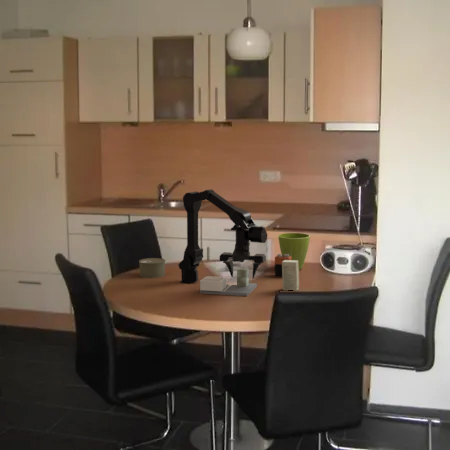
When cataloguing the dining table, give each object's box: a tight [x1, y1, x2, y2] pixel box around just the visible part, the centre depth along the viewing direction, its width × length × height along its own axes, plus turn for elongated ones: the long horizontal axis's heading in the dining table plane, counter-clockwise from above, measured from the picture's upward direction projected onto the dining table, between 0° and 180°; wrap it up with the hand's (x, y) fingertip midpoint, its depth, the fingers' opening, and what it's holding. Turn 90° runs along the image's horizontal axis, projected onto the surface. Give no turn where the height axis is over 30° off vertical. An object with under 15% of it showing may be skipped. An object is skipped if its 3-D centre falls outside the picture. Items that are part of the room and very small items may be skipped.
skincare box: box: [281, 260, 300, 292], centre depth 278 cm, size 6×4×12 cm
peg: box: [236, 267, 250, 287], centre depth 282 cm, size 4×4×7 cm
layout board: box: [199, 282, 258, 297], centre depth 280 cm, size 20×17×1 cm
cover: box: [199, 275, 227, 291], centre depth 276 cm, size 9×7×5 cm
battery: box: [274, 253, 292, 278], centre depth 303 cm, size 4×7×10 cm, turn 68°
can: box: [138, 257, 166, 279], centre depth 309 cm, size 12×12×7 cm
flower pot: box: [277, 232, 311, 271], centre depth 318 cm, size 15×15×16 cm
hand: (242, 277), depth 282 cm, fingers open, 9 cm apart
